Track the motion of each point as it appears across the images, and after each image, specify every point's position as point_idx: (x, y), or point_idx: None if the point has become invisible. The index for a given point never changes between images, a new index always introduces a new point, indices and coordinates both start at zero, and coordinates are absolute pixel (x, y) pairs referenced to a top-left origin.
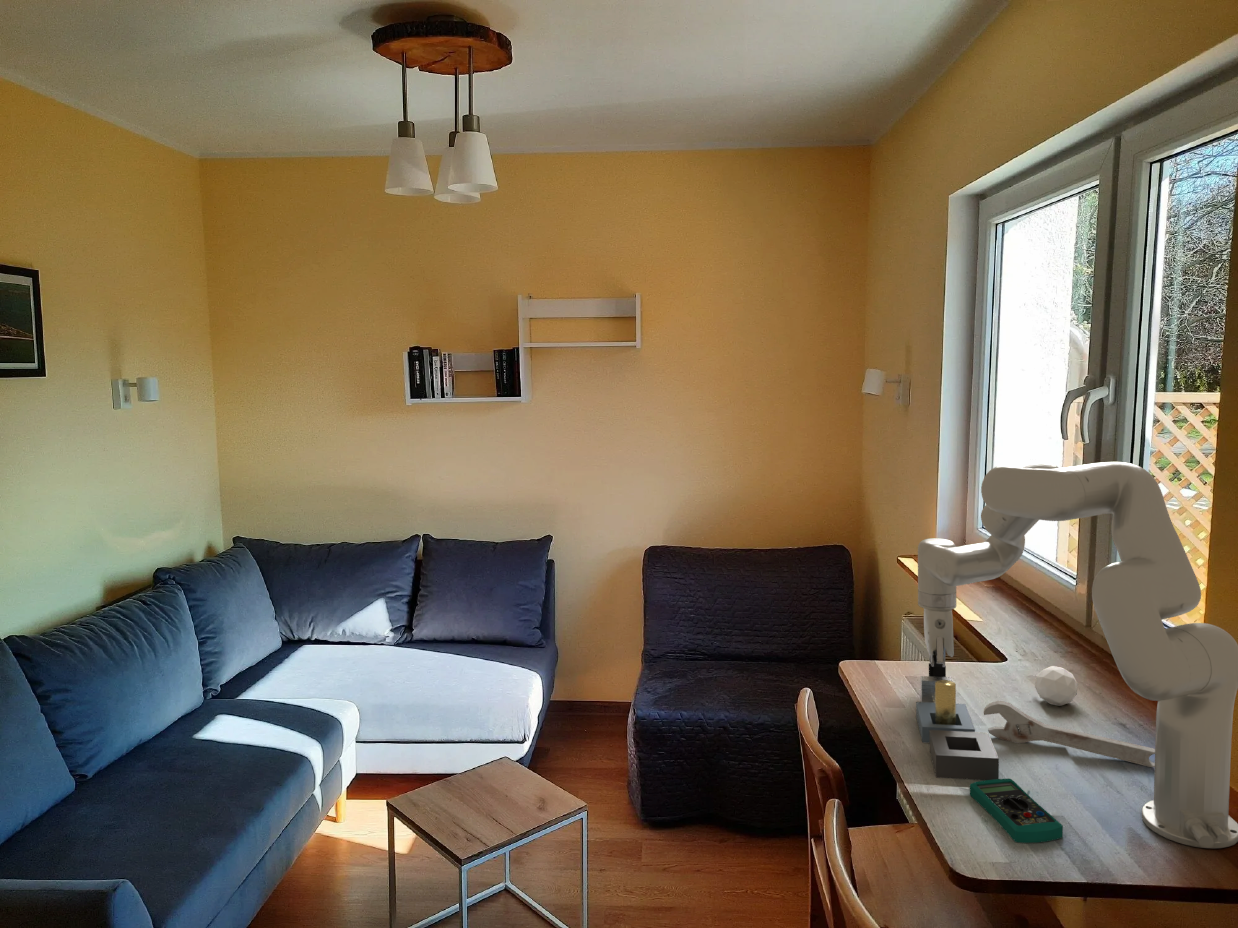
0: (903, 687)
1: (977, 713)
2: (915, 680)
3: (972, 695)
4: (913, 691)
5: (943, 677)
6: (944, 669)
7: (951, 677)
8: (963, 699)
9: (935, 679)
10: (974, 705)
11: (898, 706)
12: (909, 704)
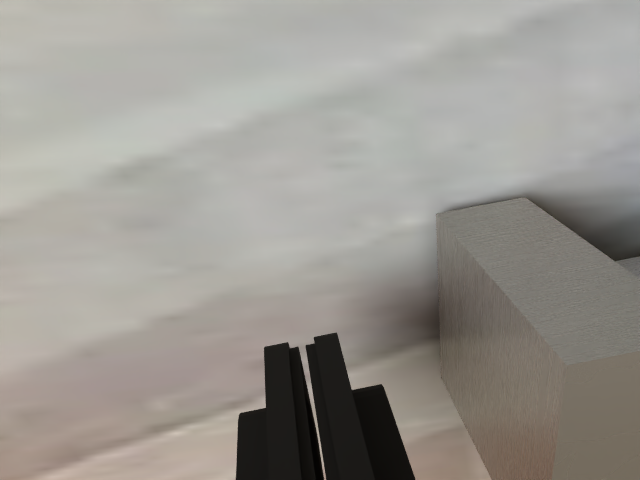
0: (169, 475)
1: (523, 10)
2: (10, 445)
3: (126, 55)
4: (213, 427)
5: (577, 428)
6: (366, 464)
7: (577, 362)
8: (250, 130)
9: (629, 476)
10: (358, 35)
11: (454, 450)
12: (419, 415)
